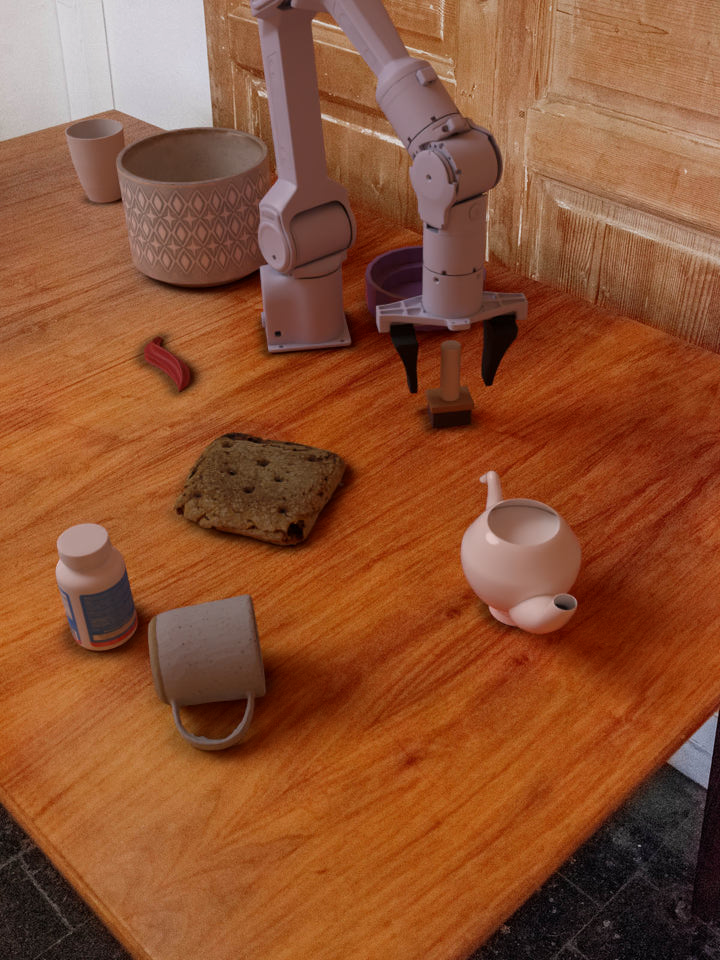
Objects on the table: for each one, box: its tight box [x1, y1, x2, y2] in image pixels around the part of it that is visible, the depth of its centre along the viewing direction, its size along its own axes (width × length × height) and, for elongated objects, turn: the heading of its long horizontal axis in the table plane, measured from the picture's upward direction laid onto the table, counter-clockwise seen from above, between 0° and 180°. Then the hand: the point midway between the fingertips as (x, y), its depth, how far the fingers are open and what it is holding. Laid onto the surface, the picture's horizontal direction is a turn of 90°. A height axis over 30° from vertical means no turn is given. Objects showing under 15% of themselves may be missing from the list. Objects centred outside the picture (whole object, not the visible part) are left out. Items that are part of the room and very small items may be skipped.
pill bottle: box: [55, 522, 139, 652], centre depth 87 cm, size 6×5×10 cm
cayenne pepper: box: [143, 336, 191, 392], centre depth 122 cm, size 12×5×2 cm, turn 13°
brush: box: [424, 339, 475, 429], centre depth 110 cm, size 4×3×9 cm
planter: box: [116, 126, 272, 288], centre depth 139 cm, size 19×19×14 cm
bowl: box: [364, 244, 487, 332], centre depth 131 cm, size 14×14×4 cm
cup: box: [64, 118, 126, 204], centre depth 158 cm, size 8×8×10 cm
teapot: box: [460, 470, 583, 635], centre depth 88 cm, size 10×20×9 cm, turn 12°
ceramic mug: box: [147, 593, 267, 751], centre depth 82 cm, size 11×8×8 cm
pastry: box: [173, 431, 346, 546], centre depth 103 cm, size 17×17×3 cm
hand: (449, 384), depth 111 cm, fingers open, 7 cm apart
